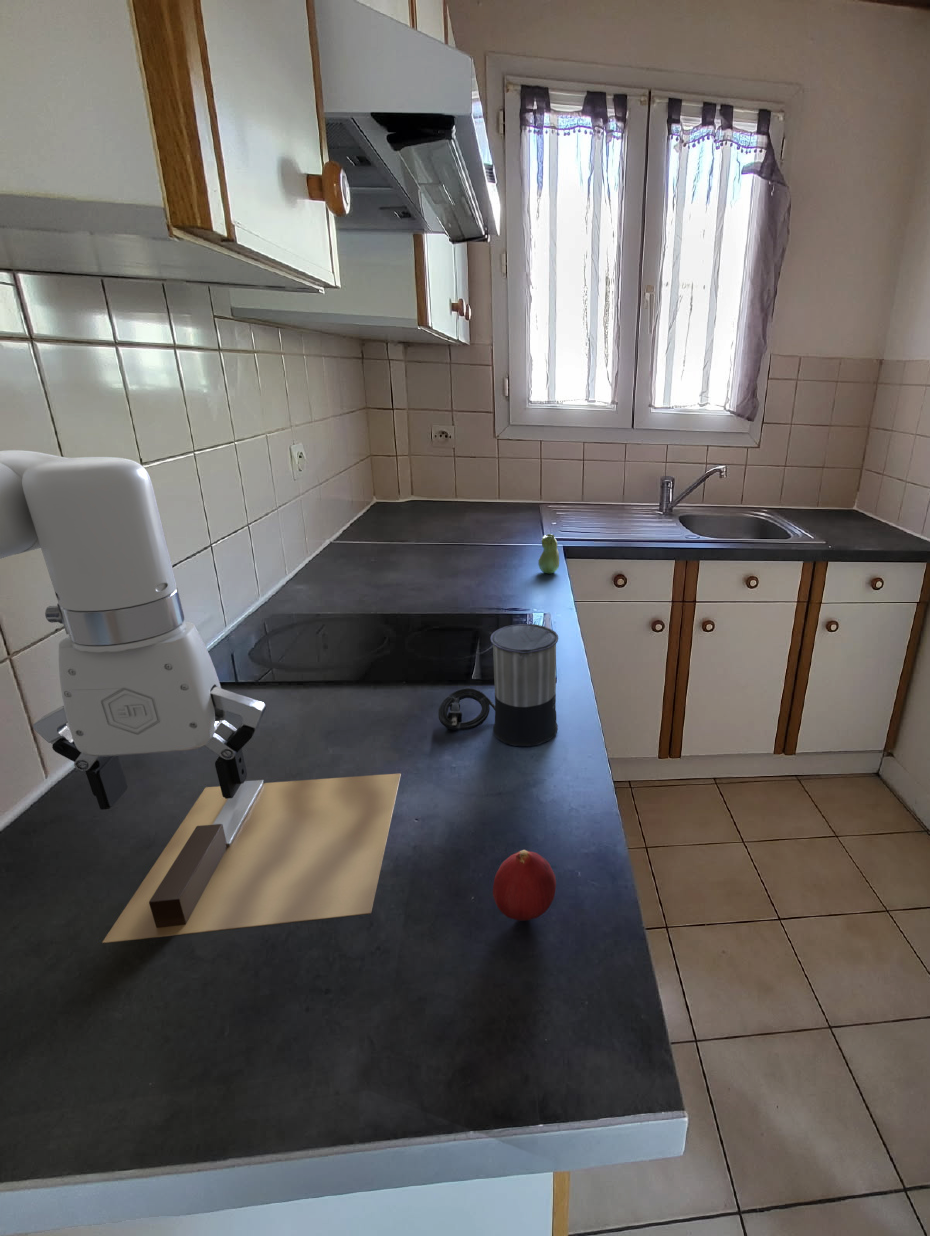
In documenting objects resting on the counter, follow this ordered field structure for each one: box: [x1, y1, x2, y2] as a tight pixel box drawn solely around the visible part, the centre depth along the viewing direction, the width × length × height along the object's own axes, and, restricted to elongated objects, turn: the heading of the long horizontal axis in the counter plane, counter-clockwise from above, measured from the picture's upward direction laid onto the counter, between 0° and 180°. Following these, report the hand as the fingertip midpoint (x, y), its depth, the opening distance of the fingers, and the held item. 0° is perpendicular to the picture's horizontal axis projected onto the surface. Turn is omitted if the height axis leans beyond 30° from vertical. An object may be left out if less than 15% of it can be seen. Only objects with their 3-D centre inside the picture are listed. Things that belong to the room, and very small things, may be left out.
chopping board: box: [101, 772, 402, 944], centre depth 67 cm, size 22×22×2 cm
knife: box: [149, 779, 265, 928], centre depth 66 cm, size 21×3×3 cm, turn 11°
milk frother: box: [438, 623, 559, 747], centre depth 90 cm, size 14×16×15 cm
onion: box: [492, 849, 557, 921], centre depth 60 cm, size 6×6×8 cm
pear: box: [537, 533, 560, 574], centre depth 160 cm, size 6×5×10 cm
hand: (175, 794), depth 57 cm, fingers open, 9 cm apart
